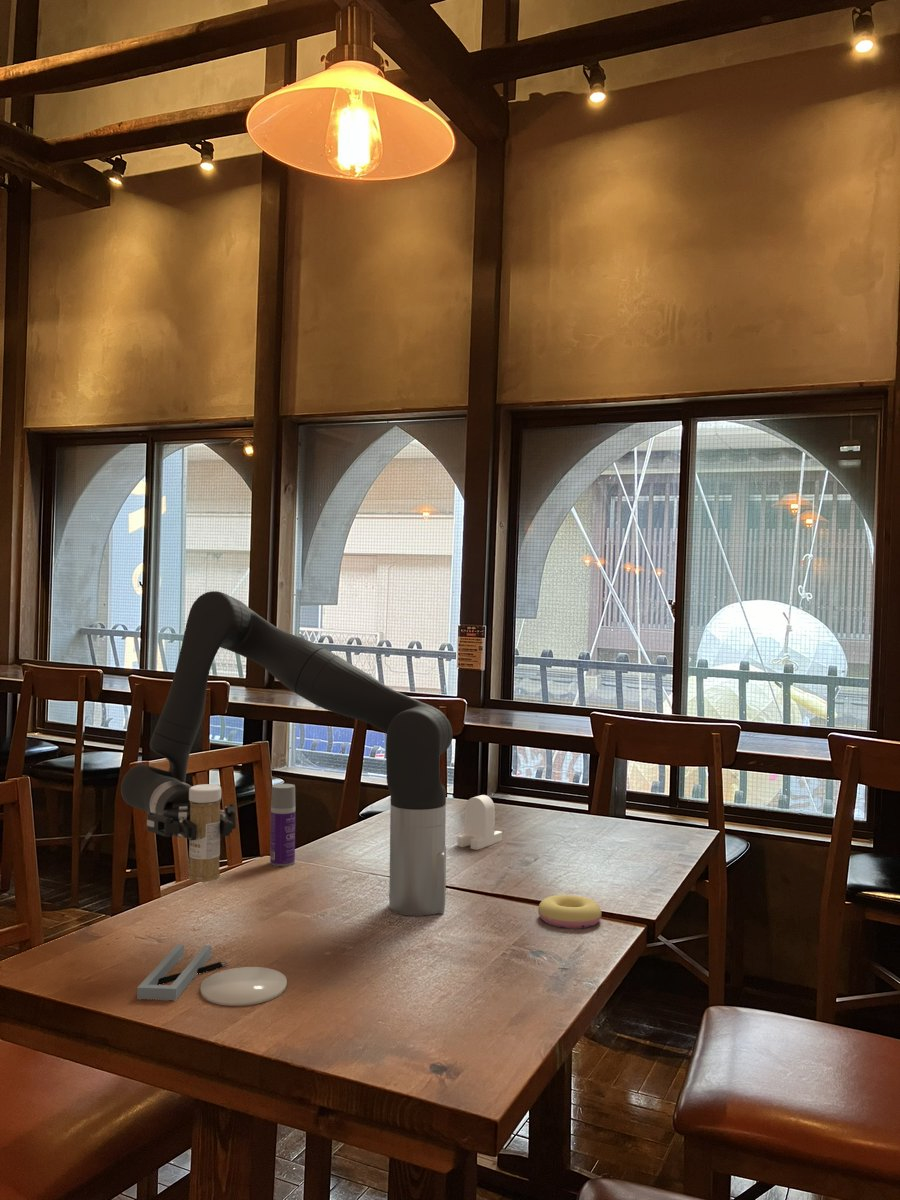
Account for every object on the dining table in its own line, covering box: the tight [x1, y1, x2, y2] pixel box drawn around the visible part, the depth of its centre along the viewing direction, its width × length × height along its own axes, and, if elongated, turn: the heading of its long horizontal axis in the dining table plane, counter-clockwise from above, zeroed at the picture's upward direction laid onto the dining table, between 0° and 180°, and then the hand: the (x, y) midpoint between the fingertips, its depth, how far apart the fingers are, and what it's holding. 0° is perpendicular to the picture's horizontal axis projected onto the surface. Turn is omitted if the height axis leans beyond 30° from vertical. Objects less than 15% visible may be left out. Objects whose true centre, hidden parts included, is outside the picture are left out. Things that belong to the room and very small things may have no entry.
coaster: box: [200, 966, 288, 1007], centre depth 122 cm, size 11×11×1 cm
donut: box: [537, 894, 602, 929], centre depth 150 cm, size 10×5×9 cm
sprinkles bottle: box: [187, 783, 222, 883], centre depth 136 cm, size 5×5×14 cm
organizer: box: [457, 794, 503, 850], centre depth 198 cm, size 5×10×10 cm, turn 144°
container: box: [269, 783, 296, 867], centre depth 180 cm, size 5×5×15 cm
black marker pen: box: [157, 961, 229, 985], centre depth 126 cm, size 12×1×1 cm, turn 132°
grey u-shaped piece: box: [136, 943, 212, 1001], centre depth 125 cm, size 5×15×2 cm, turn 177°
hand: (210, 831), depth 134 cm, fingers closed on sprinkles bottle, 4 cm apart
